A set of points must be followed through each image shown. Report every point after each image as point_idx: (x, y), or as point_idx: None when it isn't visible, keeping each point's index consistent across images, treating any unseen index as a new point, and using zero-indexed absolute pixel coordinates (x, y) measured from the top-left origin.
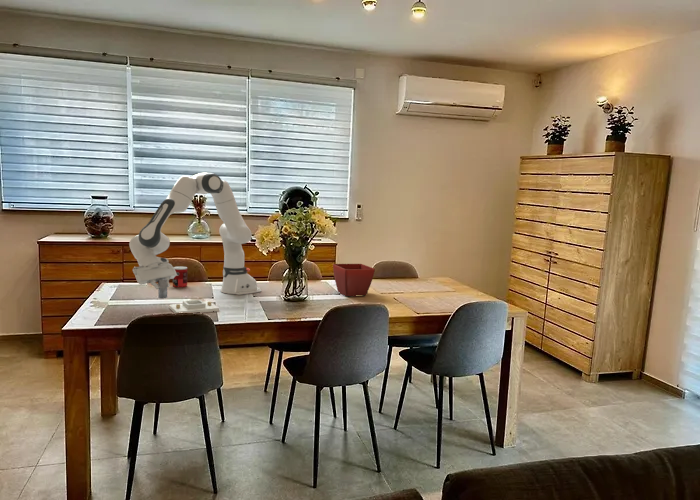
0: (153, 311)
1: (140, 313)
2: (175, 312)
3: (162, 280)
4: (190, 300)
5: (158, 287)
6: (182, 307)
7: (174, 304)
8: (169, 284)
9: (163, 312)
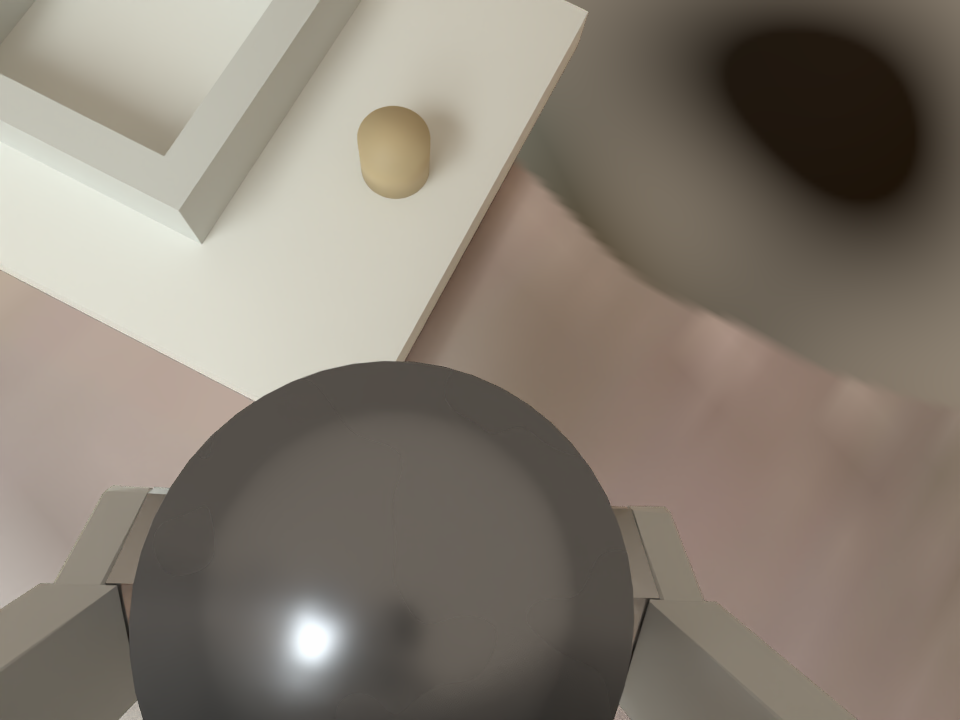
0: (689, 456)
1: (907, 511)
2: (553, 82)
3: (542, 427)
4: (45, 132)
5: (645, 509)
6: (332, 130)
7: (269, 382)
8: (121, 497)
9: (614, 291)
